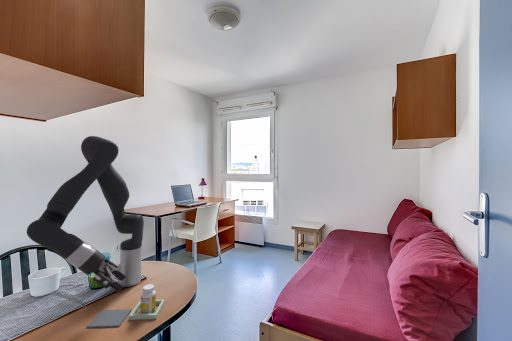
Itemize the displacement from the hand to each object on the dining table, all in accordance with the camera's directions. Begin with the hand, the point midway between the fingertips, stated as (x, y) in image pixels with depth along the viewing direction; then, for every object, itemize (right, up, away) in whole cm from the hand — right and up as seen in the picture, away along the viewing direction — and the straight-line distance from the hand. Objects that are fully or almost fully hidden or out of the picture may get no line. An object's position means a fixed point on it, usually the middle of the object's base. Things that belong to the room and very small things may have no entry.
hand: (122, 283), depth 84 cm
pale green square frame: (+8, -13, +4) cm, 15 cm away
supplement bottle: (+8, -13, +4) cm, 16 cm away
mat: (-4, -12, -1) cm, 13 cm away
